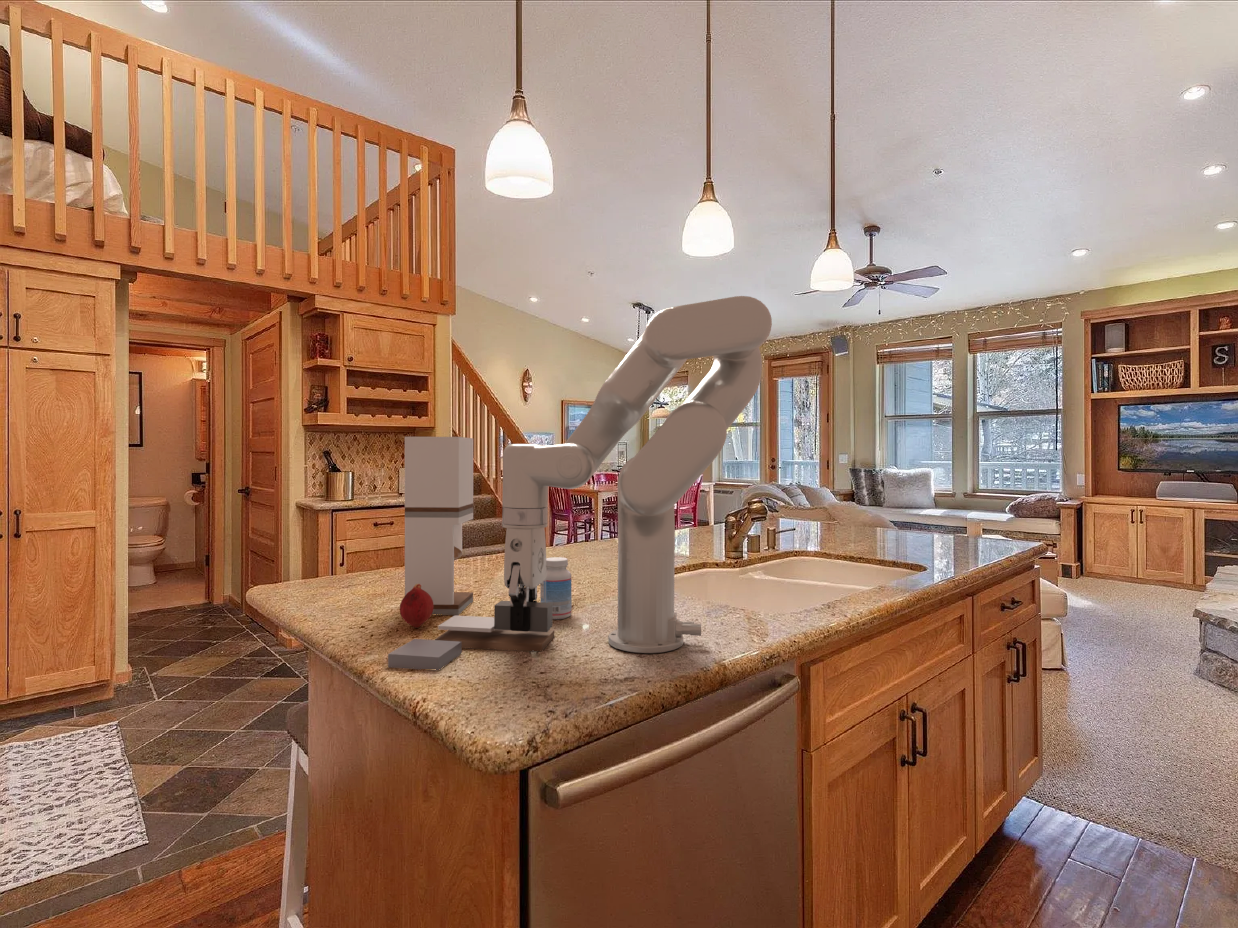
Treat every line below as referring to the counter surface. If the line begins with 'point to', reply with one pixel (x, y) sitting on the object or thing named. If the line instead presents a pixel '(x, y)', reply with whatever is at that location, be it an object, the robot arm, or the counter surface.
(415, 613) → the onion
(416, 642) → the tile
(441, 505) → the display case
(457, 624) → the stepped grey white block
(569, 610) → the pill bottle
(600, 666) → the counter surface
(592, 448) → the robot arm
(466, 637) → the rest
